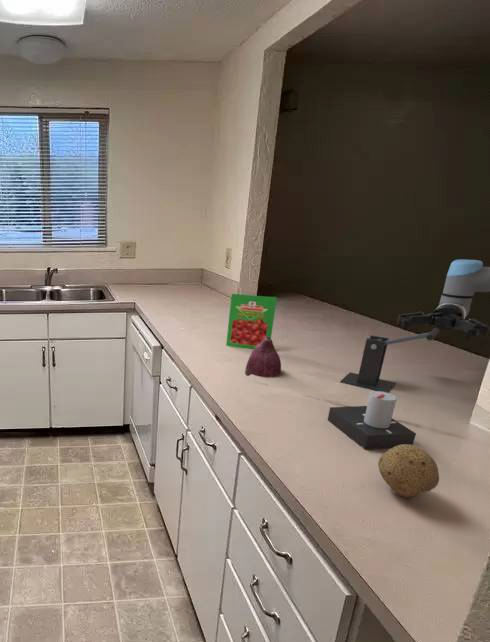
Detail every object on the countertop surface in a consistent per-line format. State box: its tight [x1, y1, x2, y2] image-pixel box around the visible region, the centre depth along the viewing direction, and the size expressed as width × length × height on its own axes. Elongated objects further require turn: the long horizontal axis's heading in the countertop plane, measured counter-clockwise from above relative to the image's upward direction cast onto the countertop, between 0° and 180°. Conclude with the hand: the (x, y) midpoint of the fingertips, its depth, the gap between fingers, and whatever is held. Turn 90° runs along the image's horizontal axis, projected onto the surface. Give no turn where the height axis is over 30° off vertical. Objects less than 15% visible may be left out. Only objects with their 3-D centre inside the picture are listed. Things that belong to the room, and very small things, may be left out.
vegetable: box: [244, 336, 282, 378], centre depth 134 cm, size 10×10×15 cm
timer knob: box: [364, 390, 398, 429], centre depth 98 cm, size 5×5×7 cm
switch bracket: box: [339, 334, 396, 393], centre depth 125 cm, size 12×10×15 cm
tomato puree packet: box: [225, 293, 278, 350], centre depth 159 cm, size 15×1×20 cm, turn 62°
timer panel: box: [327, 405, 417, 450], centre depth 102 cm, size 14×11×4 cm
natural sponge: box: [377, 444, 440, 498], centre depth 79 cm, size 9×9×10 cm
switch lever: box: [378, 327, 440, 346], centre depth 118 cm, size 15×9×2 cm, turn 45°
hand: (436, 330), depth 117 cm, fingers open, 13 cm apart
